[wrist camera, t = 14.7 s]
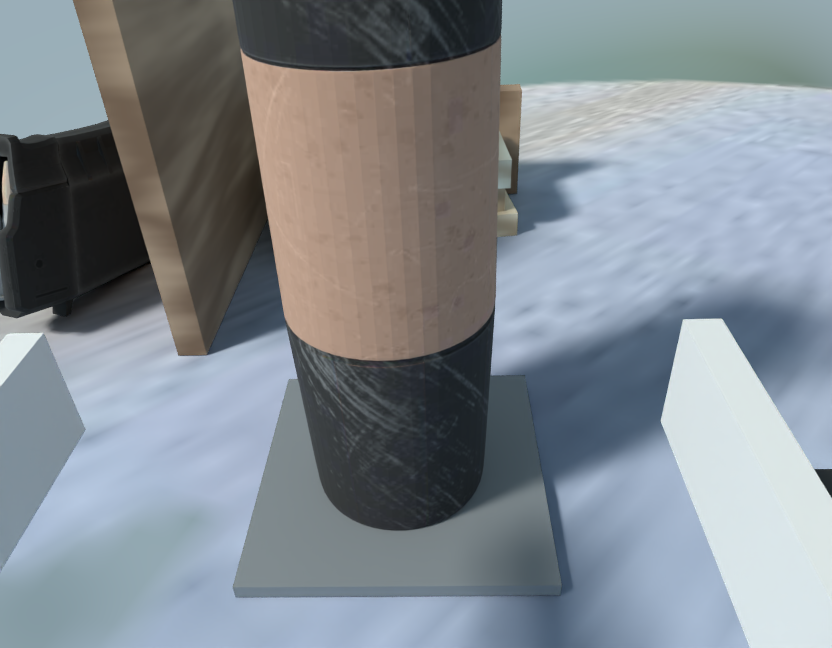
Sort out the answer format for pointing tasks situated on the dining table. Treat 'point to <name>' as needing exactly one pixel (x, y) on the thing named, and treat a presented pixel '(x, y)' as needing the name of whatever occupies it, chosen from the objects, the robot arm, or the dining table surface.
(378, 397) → the travel mug
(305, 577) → the grey mat
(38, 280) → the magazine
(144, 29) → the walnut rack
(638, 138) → the dining table surface
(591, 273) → the dining table surface
